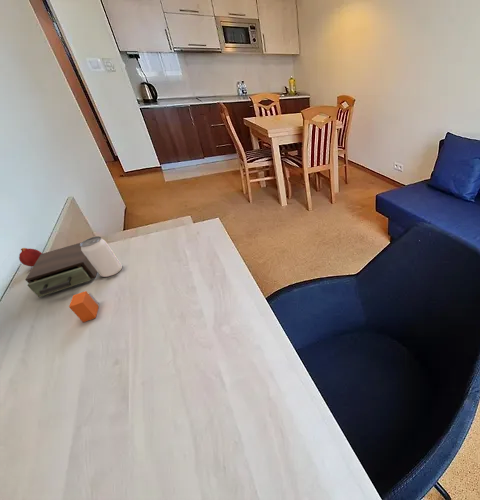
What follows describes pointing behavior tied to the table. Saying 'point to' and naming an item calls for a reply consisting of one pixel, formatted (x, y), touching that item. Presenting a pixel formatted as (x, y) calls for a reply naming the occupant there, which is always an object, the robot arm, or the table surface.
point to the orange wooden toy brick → (84, 306)
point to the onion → (29, 256)
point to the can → (101, 256)
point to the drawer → (59, 280)
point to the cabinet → (60, 262)
